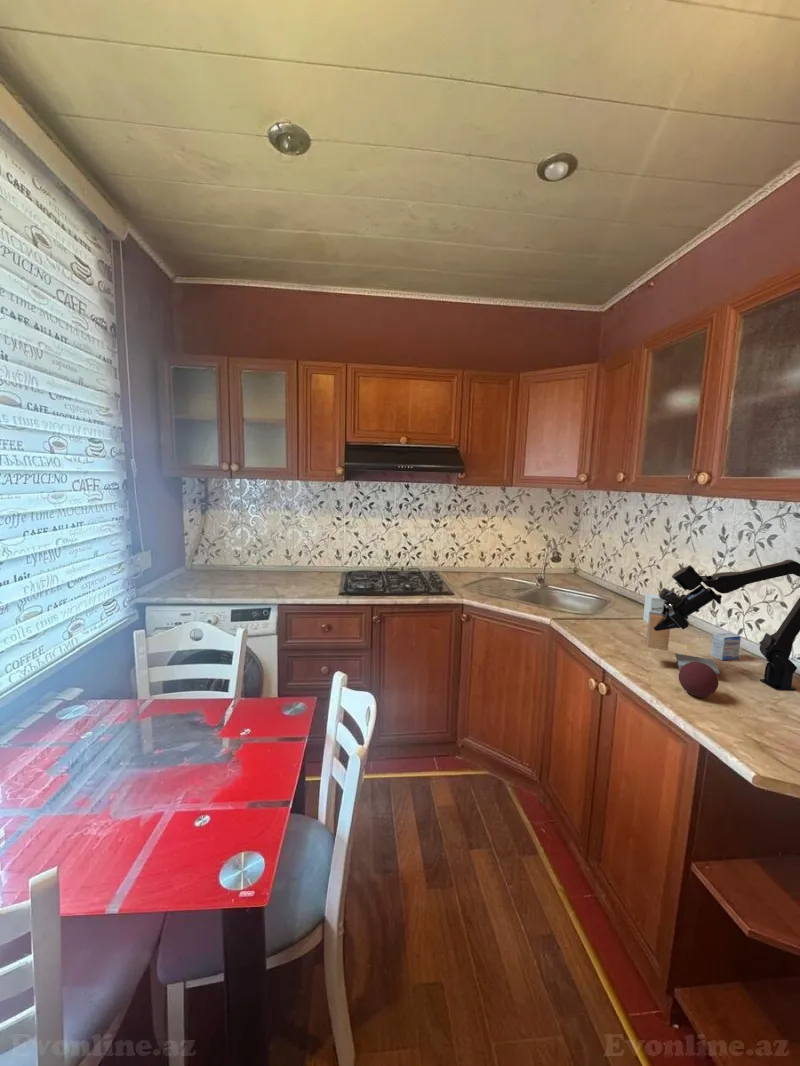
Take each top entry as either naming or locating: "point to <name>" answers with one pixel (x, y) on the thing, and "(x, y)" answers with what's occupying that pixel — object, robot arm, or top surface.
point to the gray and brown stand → (687, 659)
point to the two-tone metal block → (657, 632)
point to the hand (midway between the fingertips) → (654, 627)
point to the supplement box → (652, 605)
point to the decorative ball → (698, 679)
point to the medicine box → (725, 646)
